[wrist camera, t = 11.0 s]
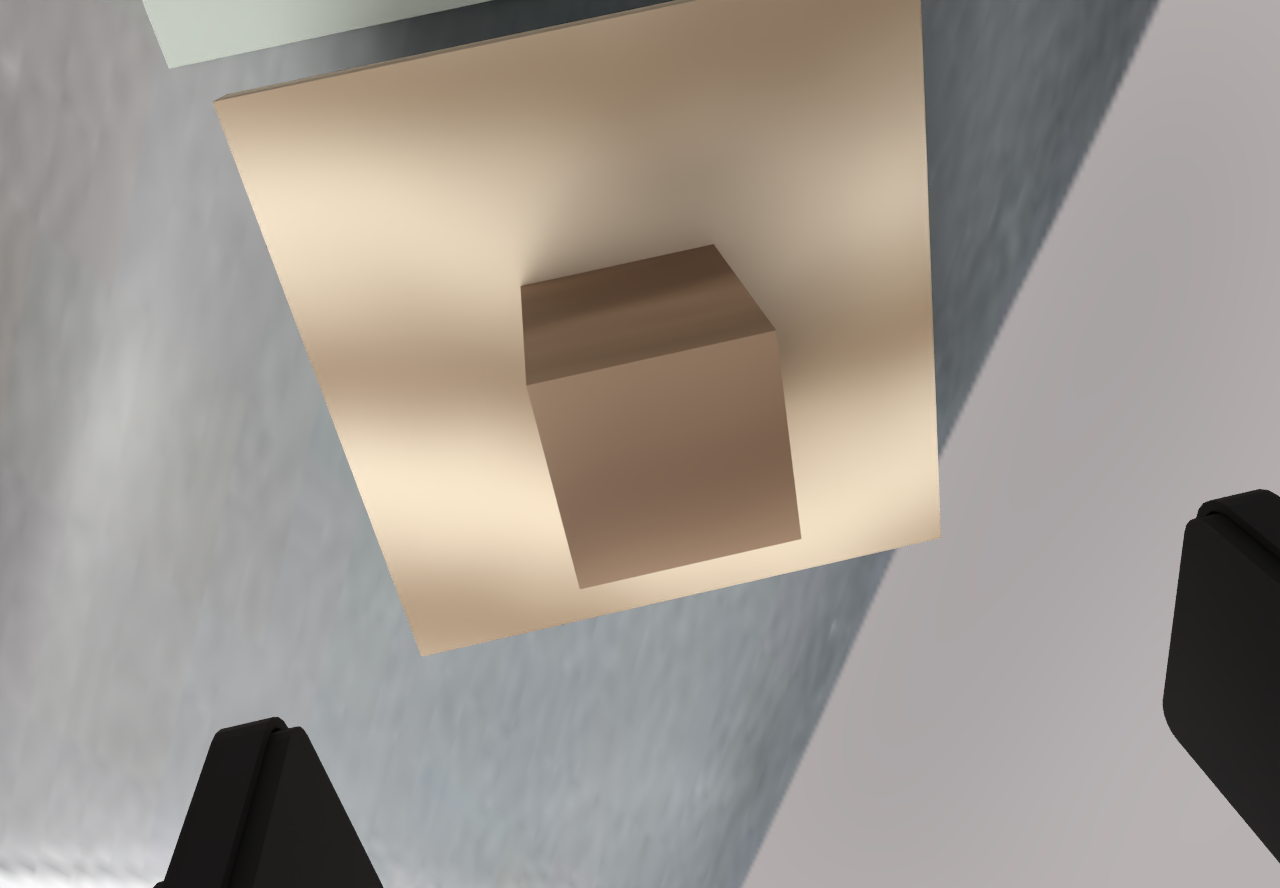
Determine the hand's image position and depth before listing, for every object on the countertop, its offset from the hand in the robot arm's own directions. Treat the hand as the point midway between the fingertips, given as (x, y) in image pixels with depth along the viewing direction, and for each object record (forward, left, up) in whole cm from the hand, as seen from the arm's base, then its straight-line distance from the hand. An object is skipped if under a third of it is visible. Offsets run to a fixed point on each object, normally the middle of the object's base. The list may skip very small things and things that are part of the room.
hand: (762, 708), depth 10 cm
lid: (+1, 0, -12) cm, 12 cm away
